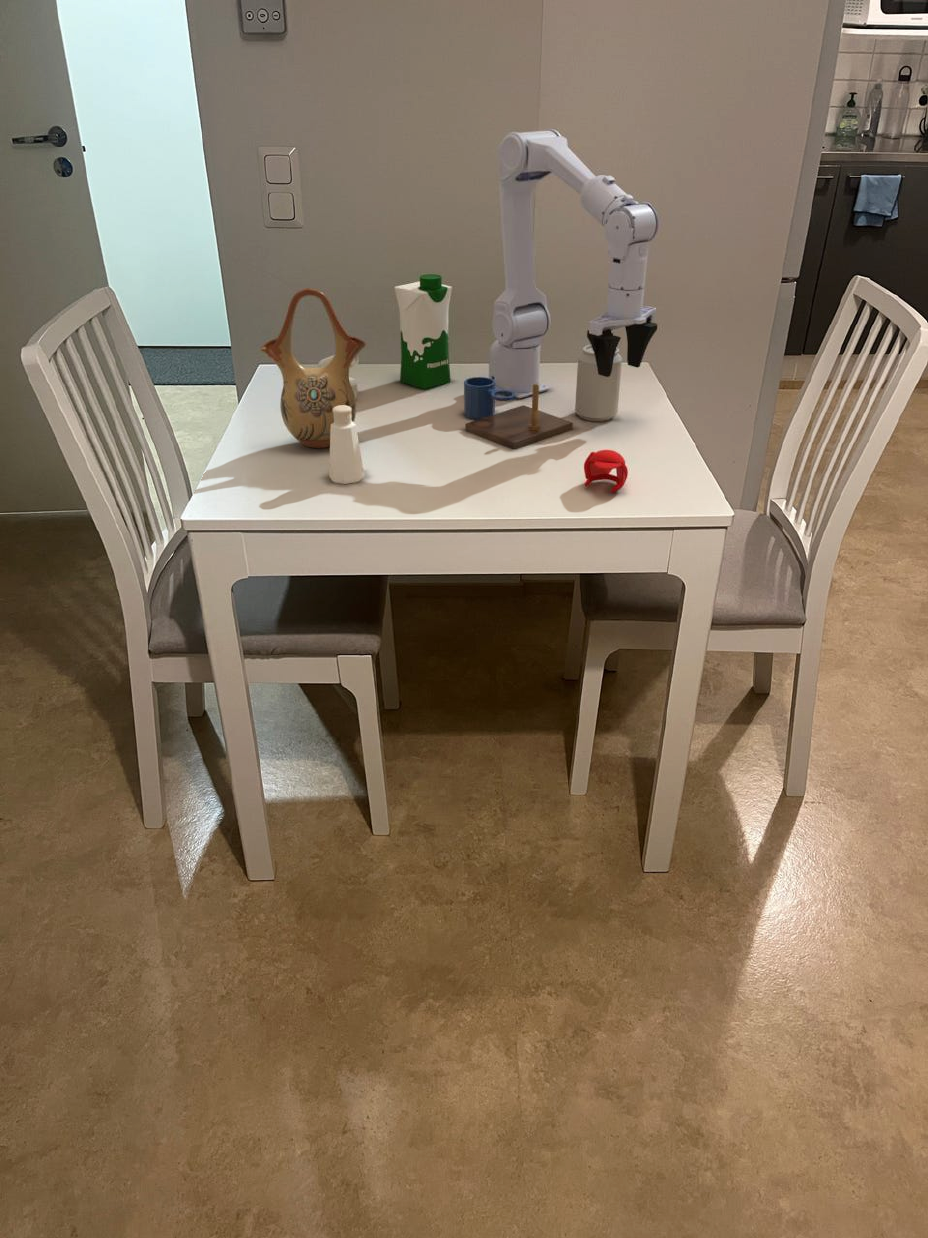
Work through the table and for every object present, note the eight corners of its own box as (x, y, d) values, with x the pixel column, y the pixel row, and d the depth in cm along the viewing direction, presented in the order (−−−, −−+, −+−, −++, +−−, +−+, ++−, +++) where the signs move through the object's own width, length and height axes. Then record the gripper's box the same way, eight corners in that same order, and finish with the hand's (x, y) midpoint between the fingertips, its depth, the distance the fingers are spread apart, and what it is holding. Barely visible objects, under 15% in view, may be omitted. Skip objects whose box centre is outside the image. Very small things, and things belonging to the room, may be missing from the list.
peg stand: (465, 429, 163) (465, 378, 158) (523, 411, 171) (524, 362, 166) (514, 449, 155) (515, 396, 151) (572, 428, 163) (575, 377, 159)
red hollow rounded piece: (579, 477, 145) (581, 440, 142) (617, 476, 146) (621, 439, 143) (588, 499, 139) (591, 460, 135) (629, 498, 139) (632, 459, 136)
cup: (458, 414, 170) (458, 381, 167) (480, 407, 173) (480, 374, 170) (500, 430, 163) (500, 396, 160) (522, 422, 166) (523, 389, 163)
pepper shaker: (331, 470, 148) (326, 401, 142) (366, 470, 148) (362, 401, 142) (326, 484, 144) (320, 413, 138) (362, 484, 143) (358, 413, 138)
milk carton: (424, 391, 180) (421, 282, 170) (392, 381, 186) (388, 274, 175) (457, 381, 186) (456, 274, 175) (426, 371, 191) (423, 267, 181)
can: (616, 409, 172) (622, 342, 166) (618, 423, 166) (623, 354, 159) (574, 407, 173) (578, 341, 166) (574, 422, 166) (578, 353, 160)
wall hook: (338, 355, 168) (297, 346, 173) (341, 408, 173) (301, 397, 178) (370, 344, 173) (329, 335, 178) (372, 395, 178) (333, 386, 183)
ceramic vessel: (369, 431, 162) (360, 279, 149) (373, 451, 155) (364, 292, 142) (271, 437, 160) (254, 283, 147) (271, 457, 153) (252, 296, 140)
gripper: (616, 298, 145) (609, 385, 153) (674, 283, 154) (665, 367, 161) (581, 290, 150) (576, 375, 157) (640, 276, 158) (632, 357, 165)
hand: (619, 370), depth 159 cm, fingers open, 7 cm apart
